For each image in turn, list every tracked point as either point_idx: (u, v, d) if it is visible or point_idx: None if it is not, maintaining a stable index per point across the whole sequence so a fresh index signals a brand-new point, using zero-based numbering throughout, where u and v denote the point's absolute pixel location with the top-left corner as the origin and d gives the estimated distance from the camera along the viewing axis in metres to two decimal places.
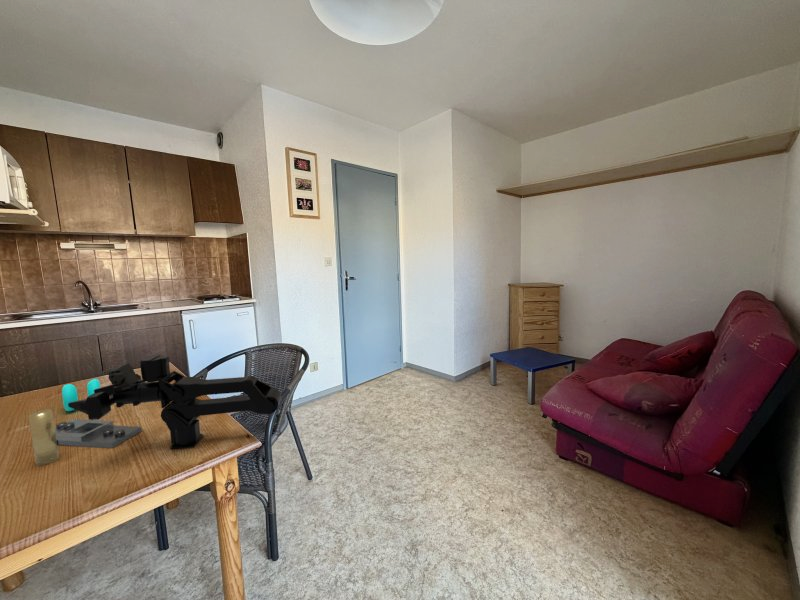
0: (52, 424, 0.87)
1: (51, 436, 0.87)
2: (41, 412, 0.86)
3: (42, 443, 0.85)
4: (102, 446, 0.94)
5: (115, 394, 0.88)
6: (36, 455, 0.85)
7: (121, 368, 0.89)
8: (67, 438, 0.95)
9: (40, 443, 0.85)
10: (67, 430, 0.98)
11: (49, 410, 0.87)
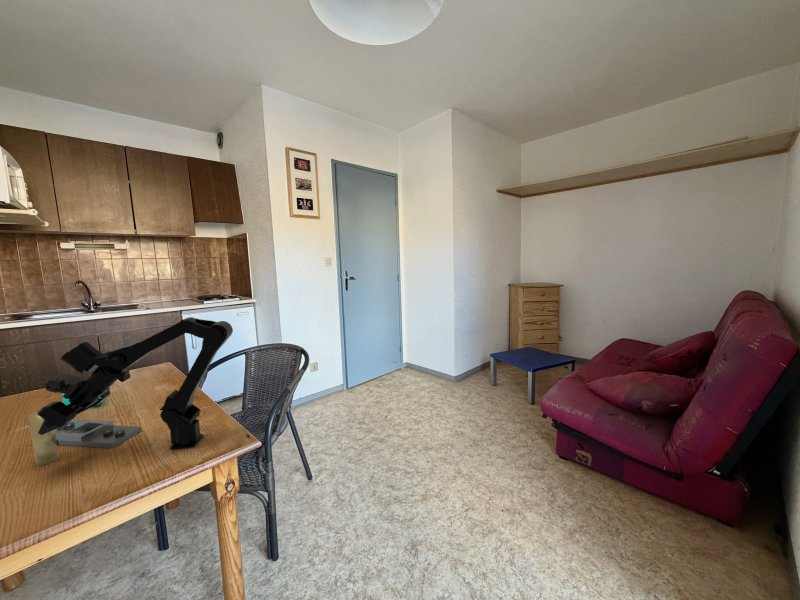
0: None
1: (51, 436, 0.87)
2: None
3: (42, 443, 0.85)
4: (102, 446, 0.94)
5: (71, 399, 0.85)
6: (36, 455, 0.85)
7: (54, 378, 0.85)
8: (67, 438, 0.95)
9: (40, 443, 0.85)
10: (67, 430, 0.98)
11: None
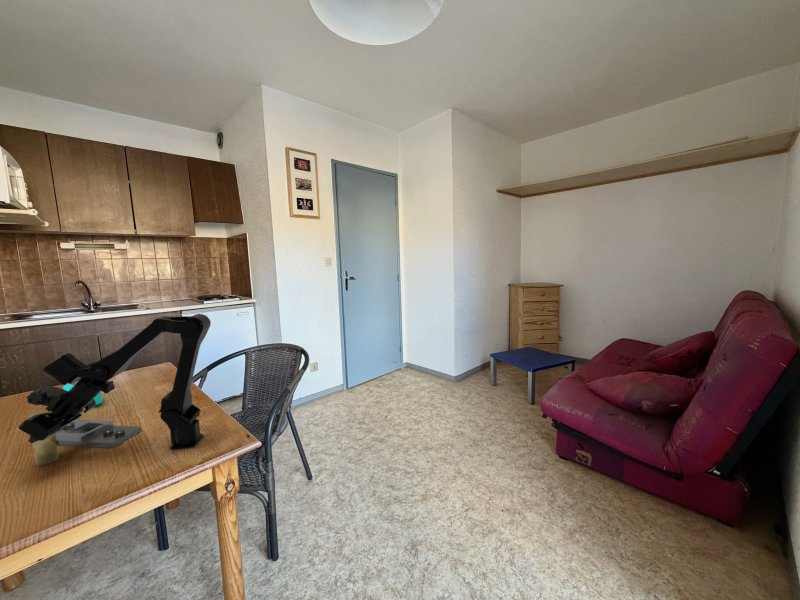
0: None
1: (51, 436, 0.87)
2: (41, 412, 0.86)
3: (42, 443, 0.85)
4: (102, 446, 0.94)
5: (54, 412, 0.84)
6: (36, 455, 0.85)
7: (36, 390, 0.84)
8: (67, 438, 0.95)
9: (40, 443, 0.85)
10: (67, 430, 0.98)
11: None
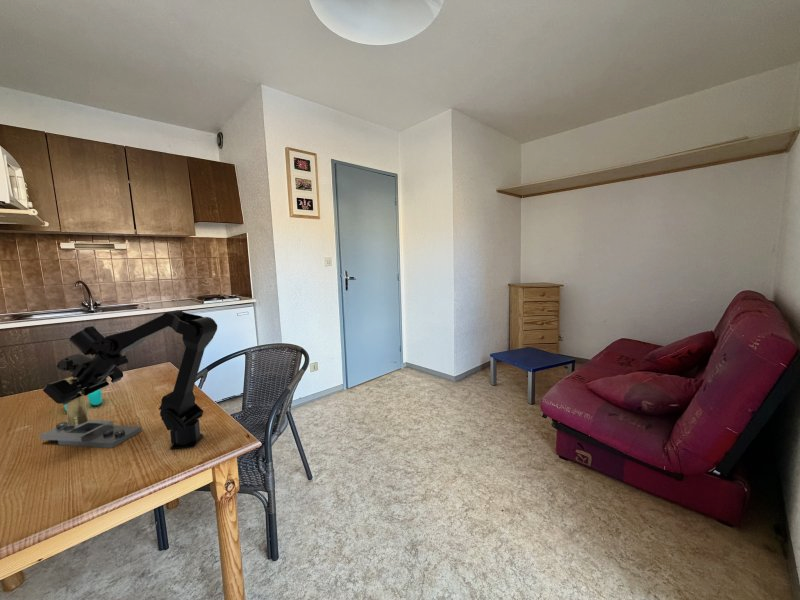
0: None
1: (79, 400, 0.95)
2: (73, 378, 0.95)
3: (71, 406, 0.94)
4: (102, 446, 0.94)
5: (78, 379, 0.92)
6: (67, 416, 0.95)
7: (67, 357, 0.93)
8: (67, 438, 0.95)
9: (70, 406, 0.94)
10: (67, 430, 0.98)
11: None
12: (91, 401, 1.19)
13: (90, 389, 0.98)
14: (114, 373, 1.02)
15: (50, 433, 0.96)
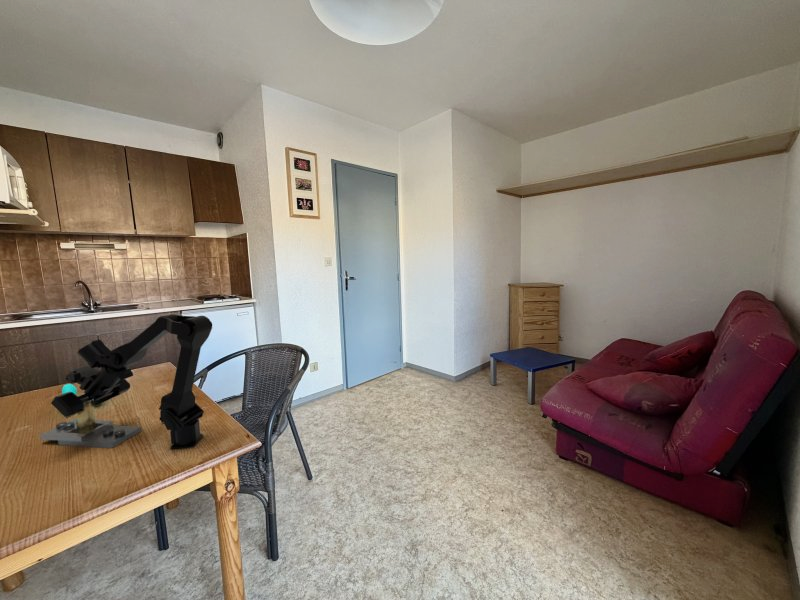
0: (91, 405, 0.99)
1: (89, 415, 0.98)
2: (84, 393, 0.98)
3: (81, 421, 0.97)
4: (102, 446, 0.94)
5: (85, 391, 0.95)
6: (77, 430, 0.97)
7: (75, 370, 0.95)
8: (67, 438, 0.95)
9: (80, 421, 0.97)
10: (67, 430, 0.98)
11: None
12: None
13: (103, 398, 1.02)
14: (121, 384, 1.04)
15: (50, 433, 0.96)
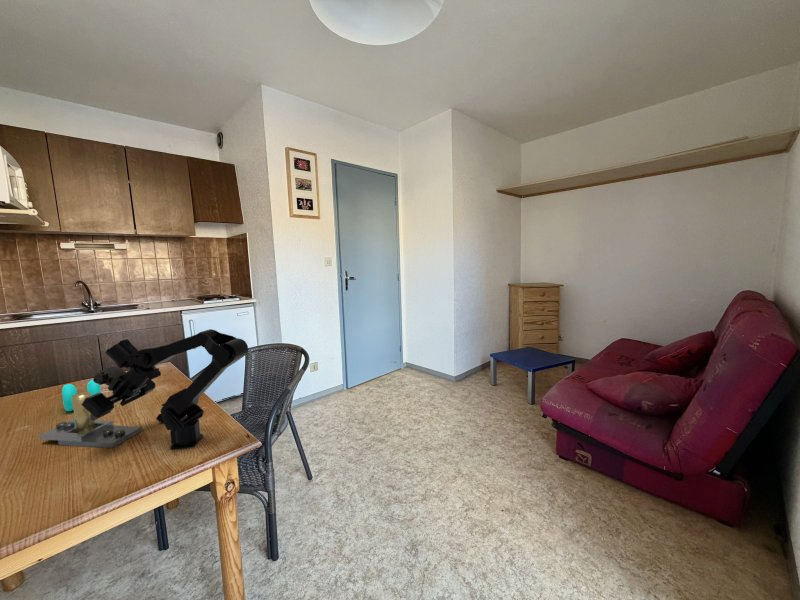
0: None
1: (88, 416, 0.98)
2: (82, 394, 0.98)
3: (80, 422, 0.97)
4: (102, 446, 0.94)
5: (113, 392, 0.93)
6: (77, 431, 0.97)
7: (102, 371, 0.94)
8: (67, 438, 0.95)
9: (79, 421, 0.97)
10: (67, 430, 0.98)
11: (88, 393, 0.99)
12: None
13: (131, 397, 1.02)
14: (147, 384, 1.03)
15: (50, 433, 0.96)
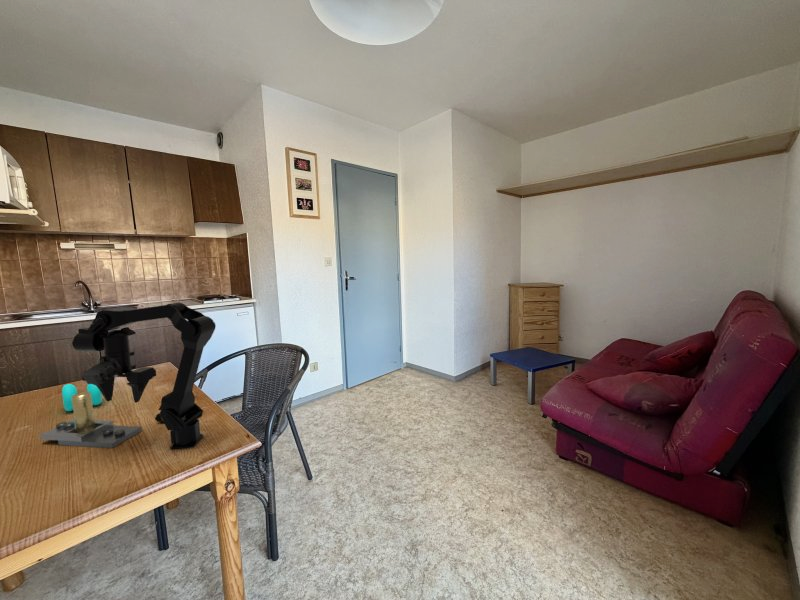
0: (89, 405, 0.98)
1: (88, 416, 0.98)
2: (82, 394, 0.98)
3: (80, 422, 0.97)
4: (102, 446, 0.94)
5: (124, 371, 0.92)
6: (77, 431, 0.97)
7: (94, 374, 0.85)
8: (67, 438, 0.95)
9: (79, 421, 0.97)
10: (67, 430, 0.98)
11: (88, 393, 0.99)
12: None
13: (110, 385, 0.96)
14: None
15: (50, 433, 0.96)
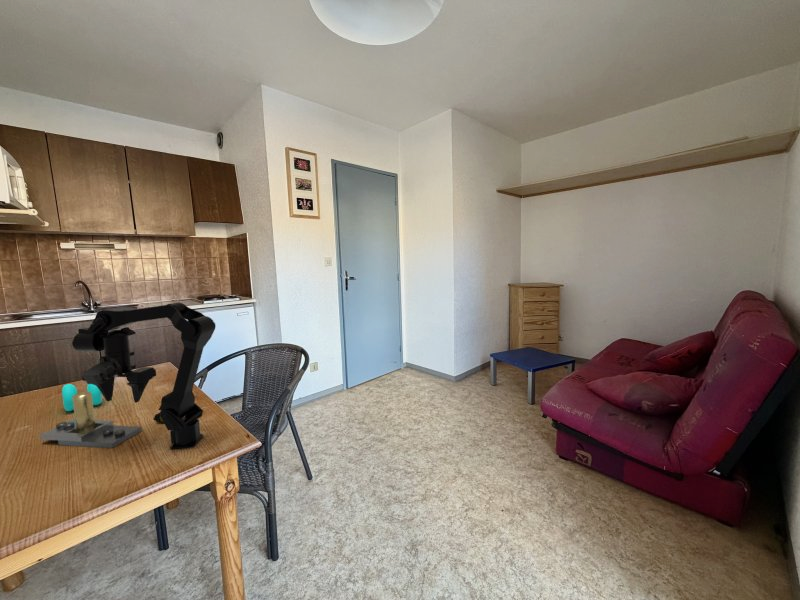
0: (90, 406, 0.98)
1: (88, 416, 0.98)
2: (82, 394, 0.98)
3: (81, 422, 0.97)
4: (102, 446, 0.94)
5: (124, 371, 0.92)
6: (77, 431, 0.97)
7: (94, 374, 0.85)
8: (67, 438, 0.95)
9: (79, 421, 0.97)
10: (67, 430, 0.98)
11: (89, 393, 0.99)
12: None
13: (110, 385, 0.96)
14: None
15: (50, 433, 0.96)
